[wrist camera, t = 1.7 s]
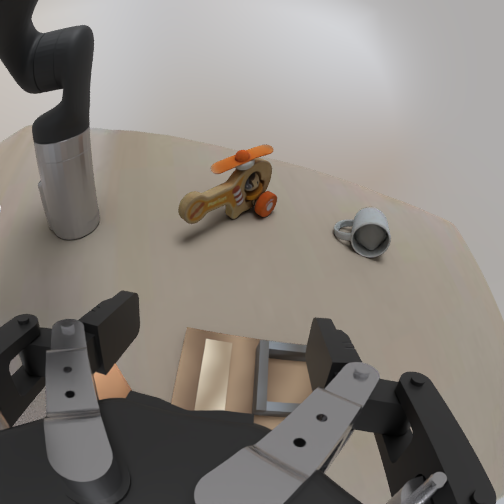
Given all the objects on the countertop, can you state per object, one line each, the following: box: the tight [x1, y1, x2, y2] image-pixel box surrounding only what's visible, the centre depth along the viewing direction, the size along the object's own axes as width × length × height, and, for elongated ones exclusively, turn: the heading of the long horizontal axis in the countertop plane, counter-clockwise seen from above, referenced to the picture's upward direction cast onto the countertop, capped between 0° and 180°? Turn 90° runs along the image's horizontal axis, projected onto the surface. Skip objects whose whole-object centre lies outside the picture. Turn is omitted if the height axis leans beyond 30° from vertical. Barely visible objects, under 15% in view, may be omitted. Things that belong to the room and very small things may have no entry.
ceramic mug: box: [334, 207, 391, 257], centre depth 51 cm, size 11×8×8 cm
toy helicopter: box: [178, 145, 277, 224], centre depth 45 cm, size 8×21×14 cm, turn 140°
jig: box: [171, 327, 312, 430], centre depth 28 cm, size 17×12×4 cm
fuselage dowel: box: [93, 363, 132, 400], centre depth 20 cm, size 5×5×12 cm
